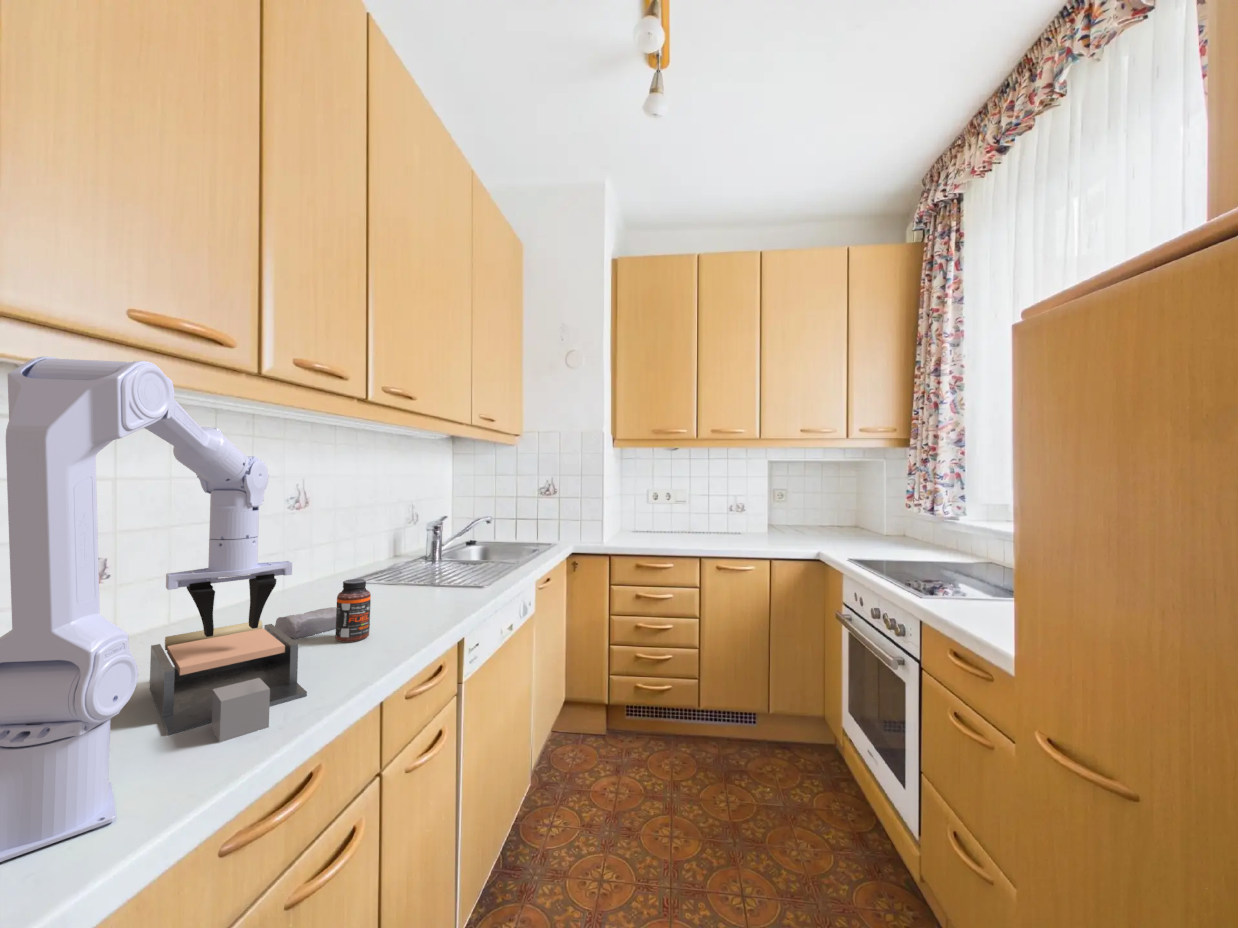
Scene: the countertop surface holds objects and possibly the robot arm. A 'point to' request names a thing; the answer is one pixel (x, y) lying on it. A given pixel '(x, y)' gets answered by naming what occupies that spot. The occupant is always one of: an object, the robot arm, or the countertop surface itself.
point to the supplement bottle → (353, 611)
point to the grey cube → (240, 709)
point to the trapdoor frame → (219, 683)
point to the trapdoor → (220, 647)
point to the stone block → (307, 623)
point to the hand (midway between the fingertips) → (231, 630)
